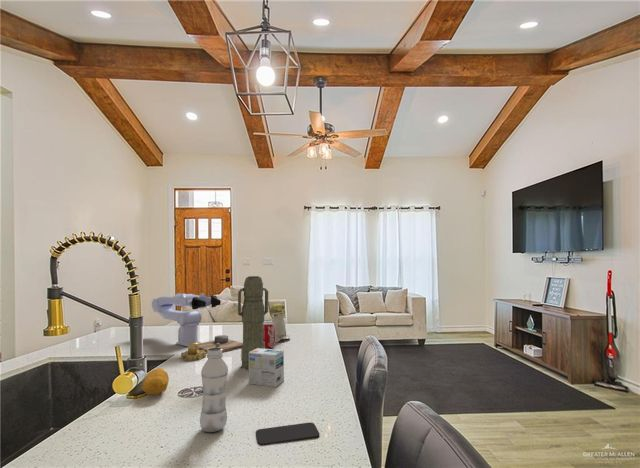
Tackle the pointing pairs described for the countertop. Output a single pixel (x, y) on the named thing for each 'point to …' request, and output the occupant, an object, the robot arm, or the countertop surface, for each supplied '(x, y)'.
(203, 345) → the carrier plate
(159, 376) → the potato
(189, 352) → the brass gear
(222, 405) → the plastic bottle
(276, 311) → the white paper bag
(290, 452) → the countertop surface
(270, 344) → the soda can
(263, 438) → the phone
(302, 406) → the countertop surface
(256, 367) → the light bulb box
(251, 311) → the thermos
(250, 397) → the countertop surface
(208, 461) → the countertop surface
